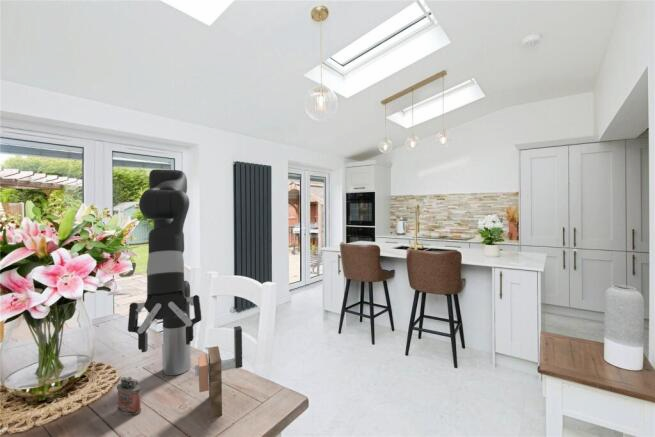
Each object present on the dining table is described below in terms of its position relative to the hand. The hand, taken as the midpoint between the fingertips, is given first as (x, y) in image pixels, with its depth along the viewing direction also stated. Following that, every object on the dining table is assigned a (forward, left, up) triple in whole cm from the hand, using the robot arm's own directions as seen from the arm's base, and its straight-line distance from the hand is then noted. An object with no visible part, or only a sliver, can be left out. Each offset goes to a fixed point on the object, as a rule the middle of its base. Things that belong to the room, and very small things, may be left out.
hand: (166, 348), depth 67 cm
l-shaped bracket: (-13, +24, -19) cm, 34 cm away
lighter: (-34, +8, -31) cm, 46 cm away
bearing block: (-14, +23, -30) cm, 41 cm away
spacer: (-16, +21, -23) cm, 35 cm away
